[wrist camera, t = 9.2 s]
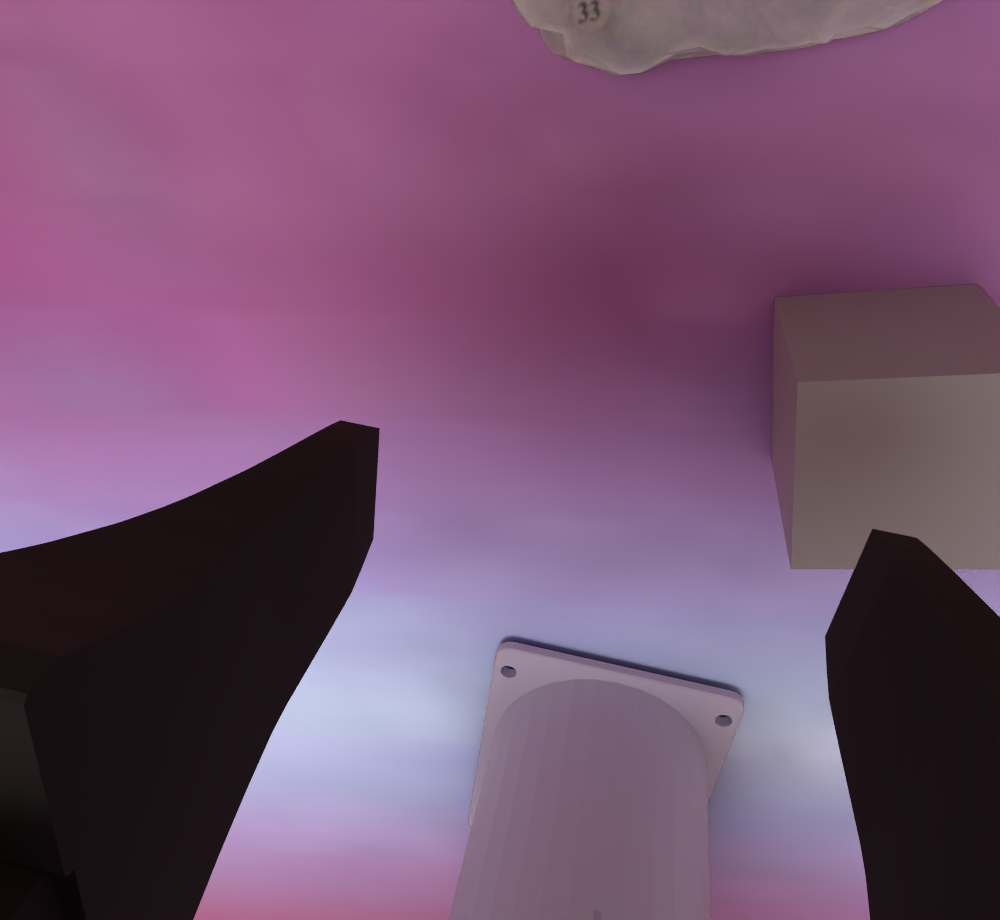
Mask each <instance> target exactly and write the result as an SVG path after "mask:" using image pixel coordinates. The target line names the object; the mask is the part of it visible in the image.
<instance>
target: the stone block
mask: <svg viewBox="0 0 1000 920" xmlns="http://www.w3.org/2000/svg"><path fill="white" fill-rule="evenodd" d="M941 1H943V0H512V2H513V4H514V6H515V8H516V9H517V11H518V13H519V14H520V15H521V16H522V18H523V19H524V20H525V21H526V23H527V24H528V25H529V26H531V27H535V28H538V30H539V32H540V34H541V36H542V39H543V41H544V43H545V44H546V46H547V47H548V48H549V49H550V50H551V52H552V53H554V54H556V55H559V56H561V57H564V58H566V59H568V60H572V61H574V62H576V63H580V64H584V65H587V66H590V67H592V68H596V69H599V70H603V71H605V72H607V73H609V74H612V75H614V76H615V75H626V74H635V73H642V72H645V71H648V70H651V69H654V68H656V67H658V66H660V65H661V64H663V63H665V62H666V61H670V60H676V59H685V58H694V57H702V56H712V55H725V56H754V55H758V54H762V53H768V52H775V51H783V50H793V49H801V48H805V47H810V46H814V45H818V44H825V43H828V42H830V41H831V40H834V39H842V38H849V37H855V36H859V35H863V34H867V33H871V32H876V31H880V30H883V29H887V28H890V27H894V26H897V25H900V24H902V23H904V22H906V21H907V20H909V19H911V18H913V17H915V16H917V15H919V14H921V13H923V12H924V11H926V10H928V9H929V8H931V7H933V6H934V5H936V4H938V3H939V2H941Z"/></svg>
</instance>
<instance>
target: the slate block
mask: <svg viewBox="0 0 1000 920" xmlns="http://www.w3.org/2000/svg"><path fill="white" fill-rule="evenodd" d="M771 459H772V465H773V471H774V476H775V482H776V488H777V493H778V499H779V505H780V510H781V516H782V522H783V527H784V533H785V539H786V544H787V550H788V556H789V561H790V567H791V569H855V567H856V565H857V562H858V560H859V558H860V556H861V553H862V551H863V549H864V546H865V544H866V542H867V539H868V537H869V535H870V533H871V530H872V529H877V530H882V531H887V532H892V533H896V534H901V535H906V536H911V537H916V538H918V539H919V540H920V541H921V542H923V543H924V544H925V545H926V546H927V547H928V548H930V549H931V550H932V551H933V552H934V553H935V554H936V555H937V556H938V557H939V558H940V559H941V560H942V561H943V562H944V563H945V564H946V565H948V566H949V567H950V568H951V569H1000V308H999V307H998V305H997V304H996V303H995V302H994V301H993V300H992V299H991V298H990V297H989V296H988V295H987V293H986V292H985V291H984V290H983V289H982V288H981V287H980V286H979V285H978V284H967V285H952V286H937V287H922V288H907V289H891V290H876V291H861V292H846V293H831V294H815V295H800V296H785V297H775V305H774V351H773V397H772V443H771Z"/></svg>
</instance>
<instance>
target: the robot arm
mask: <svg viewBox="0 0 1000 920" xmlns="http://www.w3.org/2000/svg"><path fill="white" fill-rule="evenodd" d="M378 446H379V428H375V427H370V426H365V425H360V424H355V423H351V422H346V421H341V420H340V421H338V422H336V423H334V424H332V425H330V426H328V427H326V428H324V429H322V430H320V431H318V432H316V433H315V434H313V435H311V436H309V437H307V438H305V439H304V440H302V441H300V442H298V443H296V444H294V445H293V446H291V447H289V448H287V449H285V450H283V451H282V452H280V453H278V454H276V455H274V456H272V457H270V458H268V459H266V460H265V461H263V462H261V463H259V464H257V465H255V466H253V467H251V468H249V469H247V470H245V471H243V472H241V473H239V474H237V475H235V476H233V477H230V478H228V479H226V480H224V481H222V482H220V483H218V484H215V485H213V486H211V487H209V488H207V489H205V490H203V491H200V492H198V493H196V494H194V495H192V496H189V497H187V498H185V499H182V500H180V501H177V502H175V503H172V504H170V505H167V506H165V507H162V508H159V509H157V510H154V511H151V512H148V513H145V514H142V515H140V516H137V517H134V518H131V519H128V520H125V521H122V522H119V523H116V524H113V525H109V526H106V527H102V528H98V529H95V530H91V531H88V532H84V533H80V534H77V535H73V536H70V537H66V538H63V539H59V540H55V541H52V542H48V543H44V544H39V545H35V546H30V547H26V548H21V549H16V550H12V551H7V552H2V553H0V920H193V919H194V916H195V914H196V911H197V909H198V906H199V904H200V901H201V899H202V896H203V894H204V891H205V889H206V886H207V884H208V881H209V879H210V876H211V874H212V871H213V869H214V866H215V864H216V861H217V859H218V856H219V854H220V851H221V849H222V846H223V844H224V842H225V839H226V837H227V835H228V832H229V830H230V828H231V825H232V823H233V820H234V818H235V816H236V813H237V811H238V809H239V806H240V804H241V801H242V799H243V797H244V794H245V792H246V790H247V787H248V785H249V783H250V781H251V778H252V776H253V774H254V772H255V769H256V767H257V765H258V763H259V760H260V758H261V756H262V754H263V751H264V749H265V747H266V745H267V742H268V740H269V738H270V736H271V734H272V731H273V729H274V728H275V726H276V724H277V722H278V720H279V718H280V716H281V714H282V712H283V710H284V708H285V706H286V705H287V703H288V701H289V700H290V698H291V696H292V694H293V693H294V691H295V689H296V688H297V686H298V684H299V682H300V681H301V679H302V677H303V676H304V674H305V672H306V670H307V669H308V667H309V665H310V664H311V662H312V660H313V658H314V657H315V655H316V653H317V652H318V650H319V648H320V646H321V645H322V643H323V641H324V640H325V638H326V636H327V634H328V633H329V631H330V629H331V628H332V626H333V624H334V622H335V621H336V619H337V617H338V615H339V614H340V612H341V610H342V608H343V607H344V605H345V603H346V601H347V599H348V598H349V596H350V594H351V592H352V590H353V588H354V585H355V583H356V580H357V578H358V576H359V573H360V571H361V569H362V566H363V563H364V561H365V558H366V556H367V553H368V551H369V548H370V546H371V543H372V541H373V533H374V516H375V498H376V481H377V463H378ZM825 642H826V663H827V678H828V691H829V701H830V706H831V711H832V716H833V720H834V725H835V730H836V735H837V739H838V744H839V749H840V754H841V758H842V763H843V767H844V772H845V776H846V781H847V785H848V790H849V794H850V799H851V803H852V808H853V812H854V817H855V821H856V826H857V831H858V835H859V840H860V845H861V851H862V856H863V862H864V868H865V874H866V883H867V892H868V902H869V911H870V920H1000V617H999V616H998V615H997V614H996V613H995V612H994V611H993V610H992V609H991V608H990V607H989V606H988V605H987V604H986V603H985V602H984V601H983V600H982V599H981V598H980V597H979V596H978V595H977V594H976V593H975V592H974V591H973V590H972V589H971V588H970V587H969V586H968V585H967V584H966V583H965V582H964V581H963V580H962V579H961V578H960V577H959V576H958V575H957V574H956V573H955V572H954V571H953V570H952V569H951V568H950V567H949V566H948V565H946V564H945V563H944V562H943V561H942V560H941V559H940V558H939V557H938V556H937V555H936V554H935V553H934V552H933V551H932V550H931V549H930V548H928V547H927V546H926V545H925V544H924V543H923V542H921V541H920V540H919V539H918V538H916V537H911V536H906V535H901V534H896V533H892V532H887V531H882V530H877V529H872V530H871V533H870V535H869V537H868V539H867V542H866V544H865V546H864V549H863V551H862V553H861V556H860V558H859V560H858V562H857V565H856V567H855V569H854V572H853V574H852V576H851V578H850V581H849V583H848V585H847V588H846V590H845V592H844V595H843V597H842V599H841V601H840V604H839V606H838V608H837V611H836V613H835V615H834V617H833V620H832V622H831V624H830V627H829V629H828V631H827V634H826V636H825ZM505 666H511V667H513V668H514V669H508V668H506V667H505ZM743 712H744V702H743V699H742V697H741V696H740V695H739V694H738V693H736V692H733V691H731V690H726V689H722V688H717V687H713V686H708V685H704V684H699V683H695V682H690V681H686V680H681V679H677V678H673V677H668V676H664V675H659V674H655V673H650V672H646V671H641V670H637V669H632V668H628V667H623V666H619V665H615V664H610V663H606V662H601V661H597V660H592V659H588V658H583V657H579V656H574V655H570V654H565V653H561V652H557V651H552V650H548V649H543V648H539V647H534V646H530V645H525V644H521V643H516V642H505V643H502V644H501V645H500V646H499V647H498V649H497V653H496V657H495V663H494V669H493V675H492V681H491V687H490V693H489V699H488V705H487V711H486V717H485V723H484V729H483V735H482V741H481V747H480V753H479V759H478V765H477V771H476V777H475V783H474V789H473V795H472V801H471V807H470V813H469V820H468V822H469V825H470V826H471V831H470V835H469V839H468V844H467V848H466V852H465V856H464V860H463V864H462V868H461V872H460V876H459V880H458V884H457V889H456V893H455V897H454V901H453V905H452V909H451V913H450V917H449V920H711V900H710V866H709V831H708V801H709V799H710V796H711V794H712V791H713V789H714V786H715V784H716V781H717V779H718V776H719V773H720V771H721V768H722V766H723V763H724V761H725V758H726V756H727V753H728V751H729V748H730V745H731V743H732V740H733V738H734V735H735V733H736V730H737V728H738V725H739V723H740V720H741V718H742V715H743ZM719 715H727V716H728V717H719Z"/></svg>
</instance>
